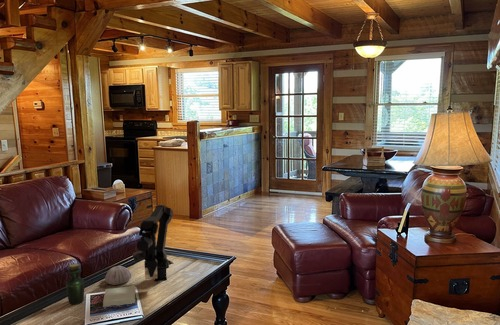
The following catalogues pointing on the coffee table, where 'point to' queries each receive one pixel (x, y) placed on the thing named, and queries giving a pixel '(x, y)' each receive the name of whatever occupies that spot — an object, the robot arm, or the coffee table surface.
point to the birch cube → (147, 275)
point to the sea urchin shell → (117, 275)
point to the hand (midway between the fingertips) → (151, 274)
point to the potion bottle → (75, 285)
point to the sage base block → (119, 296)
